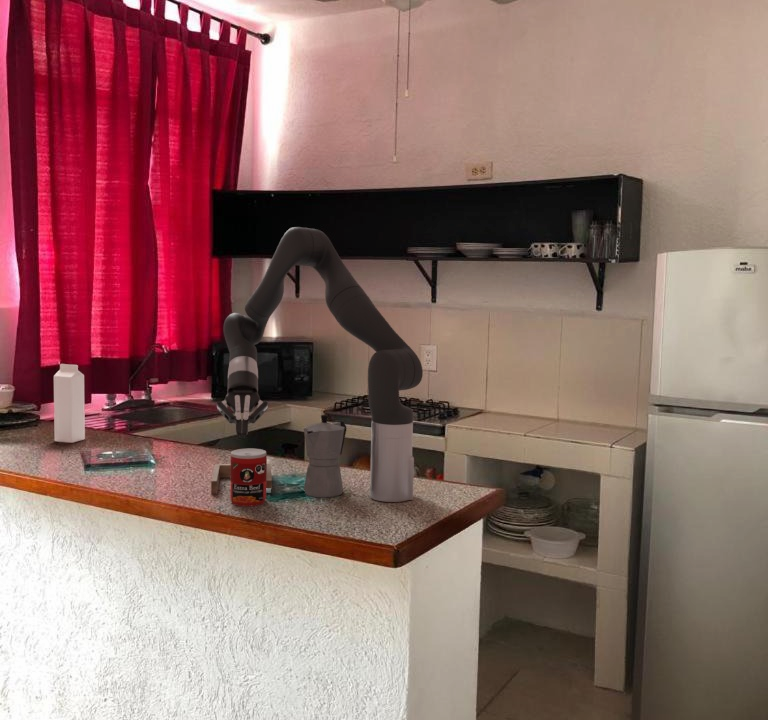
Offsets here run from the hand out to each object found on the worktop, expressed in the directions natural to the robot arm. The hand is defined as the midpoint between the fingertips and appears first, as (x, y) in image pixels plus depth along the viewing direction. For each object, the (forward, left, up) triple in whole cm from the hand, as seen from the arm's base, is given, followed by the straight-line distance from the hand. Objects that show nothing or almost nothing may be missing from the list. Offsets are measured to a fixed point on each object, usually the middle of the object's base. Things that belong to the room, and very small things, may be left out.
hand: (241, 435), depth 208 cm
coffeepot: (-19, +14, -11) cm, 26 cm away
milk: (+50, -49, -11) cm, 71 cm away
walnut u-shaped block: (0, +7, -10) cm, 13 cm away
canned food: (-2, +22, -11) cm, 24 cm away
